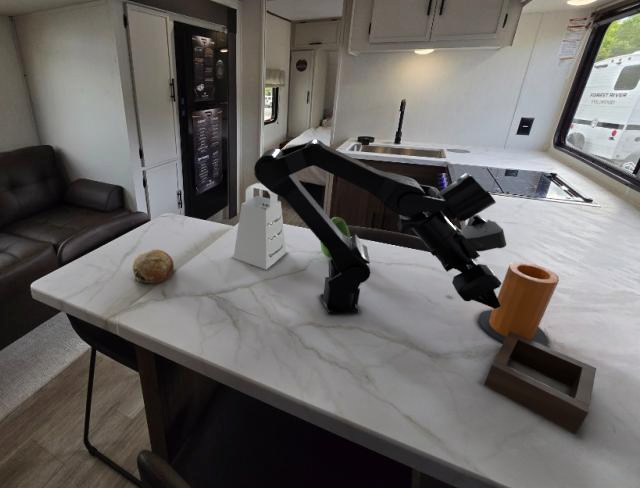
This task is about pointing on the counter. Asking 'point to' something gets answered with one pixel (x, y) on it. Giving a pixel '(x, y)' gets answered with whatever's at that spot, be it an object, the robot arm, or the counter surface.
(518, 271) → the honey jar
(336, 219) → the avocado
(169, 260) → the bread roll
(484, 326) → the coaster
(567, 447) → the counter surface
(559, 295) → the counter surface
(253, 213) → the grater
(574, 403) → the open rectangular box
